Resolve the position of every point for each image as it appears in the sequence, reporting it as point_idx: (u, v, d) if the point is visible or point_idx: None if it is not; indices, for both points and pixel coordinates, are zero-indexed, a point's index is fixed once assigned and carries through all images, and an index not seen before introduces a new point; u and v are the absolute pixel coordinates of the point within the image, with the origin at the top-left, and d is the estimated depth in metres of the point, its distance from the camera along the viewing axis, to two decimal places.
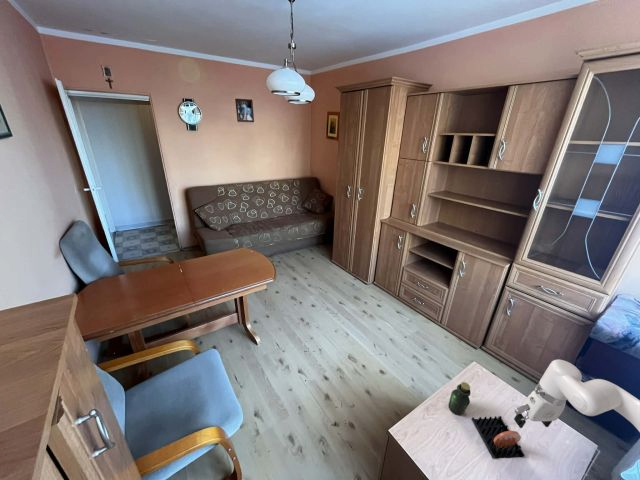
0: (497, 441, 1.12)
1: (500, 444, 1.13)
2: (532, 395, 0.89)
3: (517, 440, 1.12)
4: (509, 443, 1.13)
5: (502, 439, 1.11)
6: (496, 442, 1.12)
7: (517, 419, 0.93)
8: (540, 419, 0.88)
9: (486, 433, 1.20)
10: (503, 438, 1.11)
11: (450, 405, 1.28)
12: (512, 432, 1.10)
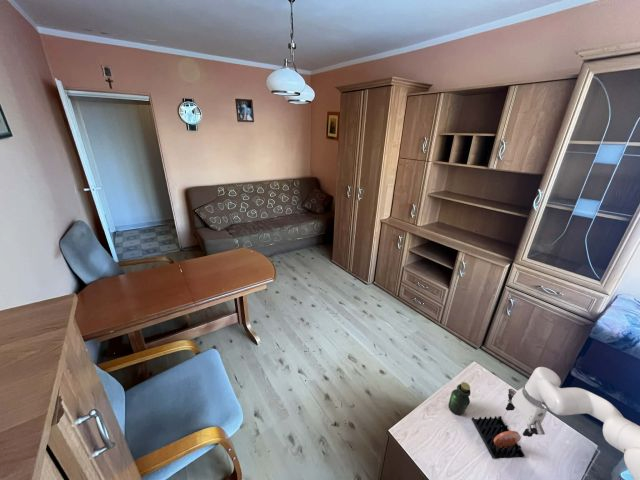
0: (497, 441, 1.12)
1: (500, 444, 1.13)
2: (538, 412, 0.96)
3: (517, 440, 1.12)
4: (509, 443, 1.13)
5: (502, 439, 1.11)
6: (496, 442, 1.12)
7: (530, 434, 1.01)
8: None
9: (486, 433, 1.20)
10: (503, 438, 1.11)
11: (450, 405, 1.28)
12: (512, 432, 1.10)
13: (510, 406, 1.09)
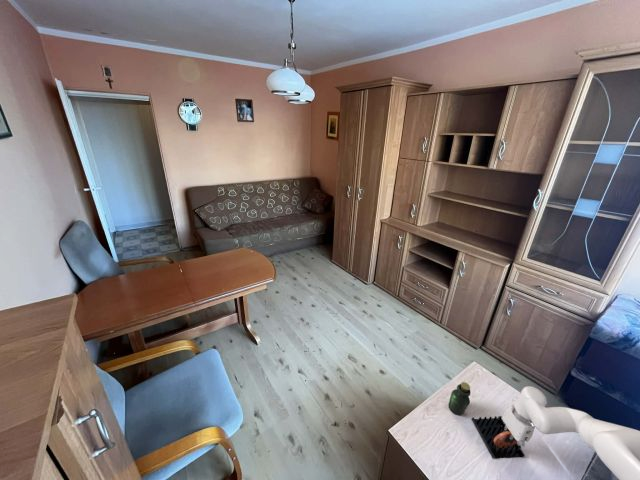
0: (497, 441, 1.12)
1: (500, 444, 1.13)
2: (527, 429, 1.01)
3: None
4: (509, 443, 1.13)
5: (502, 439, 1.11)
6: (496, 442, 1.12)
7: (511, 441, 1.10)
8: None
9: (486, 433, 1.20)
10: (503, 438, 1.11)
11: (450, 405, 1.28)
12: None
13: None
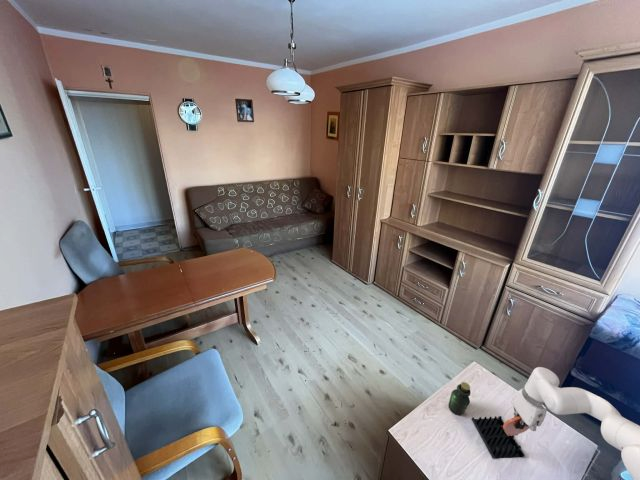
0: (506, 427, 1.06)
1: (510, 431, 1.08)
2: (538, 413, 0.97)
3: None
4: (519, 429, 1.08)
5: (512, 425, 1.06)
6: (506, 428, 1.07)
7: (522, 426, 1.05)
8: None
9: (486, 433, 1.20)
10: (513, 424, 1.06)
11: (450, 405, 1.28)
12: None
13: None
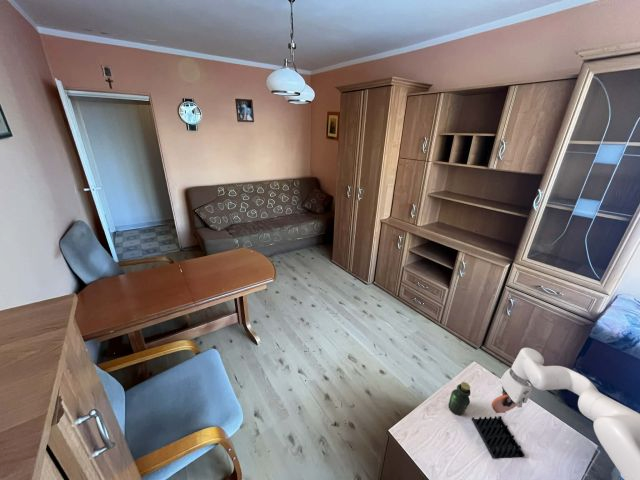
0: (495, 404, 1.13)
1: (498, 408, 1.14)
2: (524, 390, 1.03)
3: (514, 404, 1.14)
4: (507, 407, 1.14)
5: (500, 403, 1.13)
6: (494, 406, 1.14)
7: (509, 404, 1.11)
8: None
9: (486, 433, 1.20)
10: (501, 401, 1.12)
11: (450, 405, 1.28)
12: None
13: None
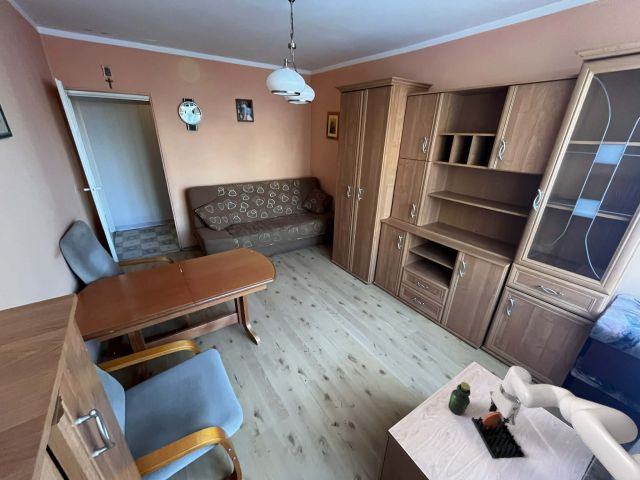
0: (485, 421, 1.19)
1: (488, 424, 1.20)
2: (513, 406, 1.08)
3: None
4: None
5: (490, 419, 1.18)
6: (485, 422, 1.19)
7: (503, 423, 1.14)
8: None
9: (486, 433, 1.20)
10: (491, 418, 1.18)
11: (450, 405, 1.28)
12: (499, 413, 1.17)
13: (492, 408, 1.20)
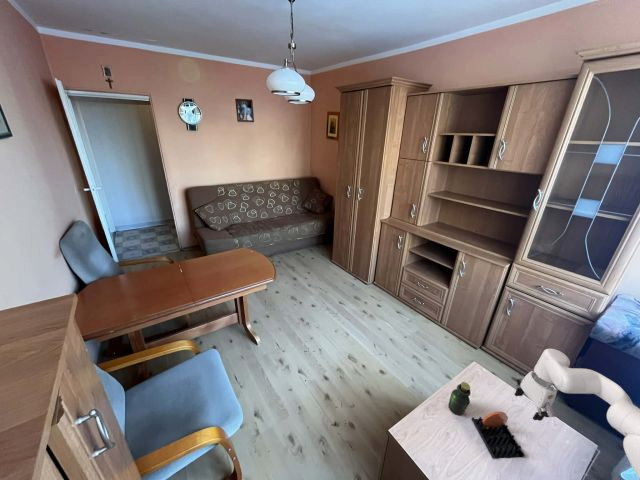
0: (485, 421, 1.19)
1: (488, 424, 1.20)
2: (548, 394, 0.96)
3: (504, 420, 1.19)
4: (497, 423, 1.20)
5: (490, 419, 1.18)
6: (485, 422, 1.19)
7: (540, 418, 1.00)
8: None
9: (486, 433, 1.20)
10: (491, 418, 1.18)
11: (450, 405, 1.28)
12: (499, 413, 1.17)
13: (519, 391, 1.09)
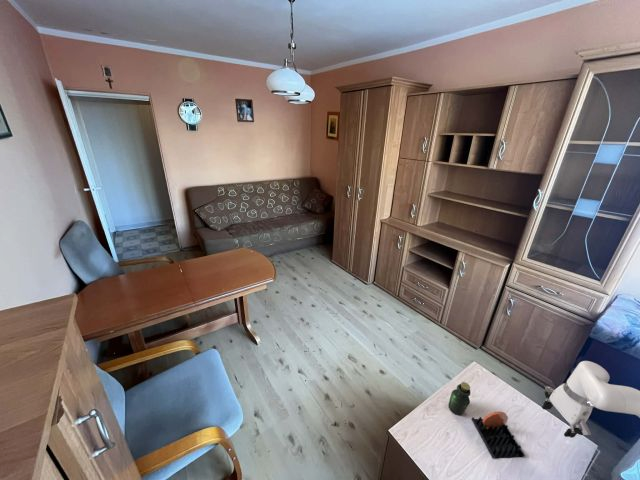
0: (485, 421, 1.19)
1: (488, 424, 1.20)
2: (583, 410, 0.89)
3: (504, 420, 1.19)
4: (497, 423, 1.20)
5: (490, 419, 1.18)
6: (485, 422, 1.19)
7: (573, 434, 0.93)
8: None
9: (486, 433, 1.20)
10: (491, 418, 1.18)
11: (450, 405, 1.28)
12: (499, 413, 1.17)
13: (547, 405, 1.02)
